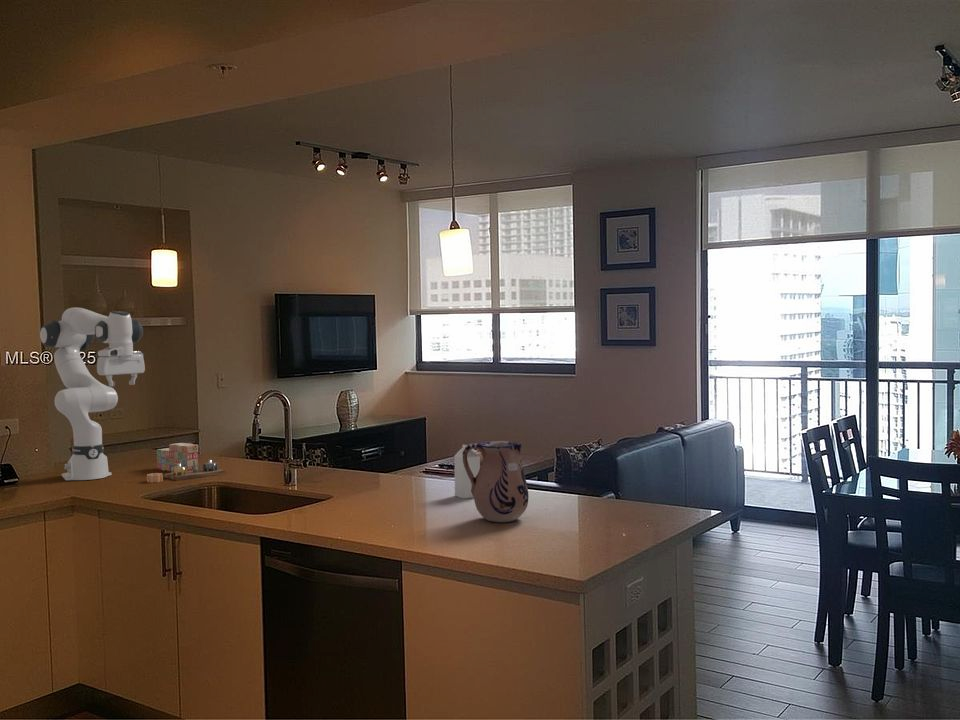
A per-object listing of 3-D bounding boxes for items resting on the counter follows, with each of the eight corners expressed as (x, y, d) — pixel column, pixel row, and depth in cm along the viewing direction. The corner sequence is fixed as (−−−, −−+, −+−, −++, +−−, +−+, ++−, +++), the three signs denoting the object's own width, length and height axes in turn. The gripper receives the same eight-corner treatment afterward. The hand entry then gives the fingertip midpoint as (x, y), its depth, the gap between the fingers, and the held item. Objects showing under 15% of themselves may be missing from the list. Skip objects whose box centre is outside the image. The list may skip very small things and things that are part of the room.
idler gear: (144, 481, 352) (144, 474, 352) (159, 479, 357) (159, 472, 357) (150, 483, 348) (150, 476, 348) (165, 481, 352) (165, 474, 352)
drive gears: (168, 474, 361) (168, 463, 360) (213, 468, 375) (213, 458, 374) (175, 476, 356) (175, 465, 356) (220, 470, 370) (220, 459, 370)
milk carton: (463, 499, 308) (462, 447, 307) (454, 495, 314) (454, 445, 314) (480, 497, 311) (479, 445, 311) (471, 494, 318) (471, 443, 317)
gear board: (164, 477, 362) (163, 462, 362) (212, 470, 377) (212, 456, 377) (176, 480, 353) (176, 465, 353) (225, 474, 369) (225, 459, 368)
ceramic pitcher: (532, 525, 266) (531, 445, 265) (465, 527, 264) (464, 447, 263) (524, 513, 283) (524, 438, 282) (462, 515, 282) (461, 440, 281)
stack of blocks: (156, 469, 383) (156, 442, 383) (168, 467, 388) (167, 441, 388) (187, 473, 371) (186, 445, 371) (199, 471, 377) (198, 444, 376)
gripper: (137, 350, 352) (138, 383, 352) (94, 352, 334) (94, 386, 334) (147, 350, 349) (148, 384, 349) (104, 352, 331) (105, 387, 331)
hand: (122, 385), depth 342 cm, fingers open, 8 cm apart
